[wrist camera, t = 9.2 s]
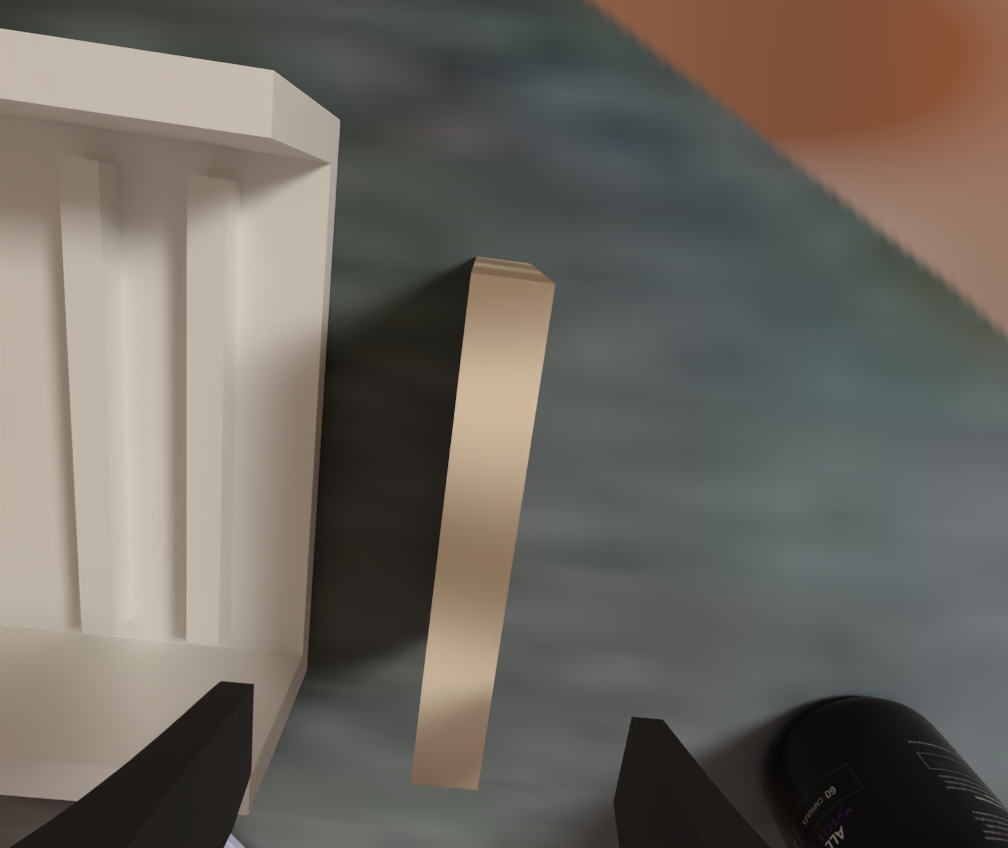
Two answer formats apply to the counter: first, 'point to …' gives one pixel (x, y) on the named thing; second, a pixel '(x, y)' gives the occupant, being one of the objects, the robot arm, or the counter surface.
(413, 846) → the counter surface
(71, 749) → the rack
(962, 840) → the supplement bottle
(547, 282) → the tall sheet
